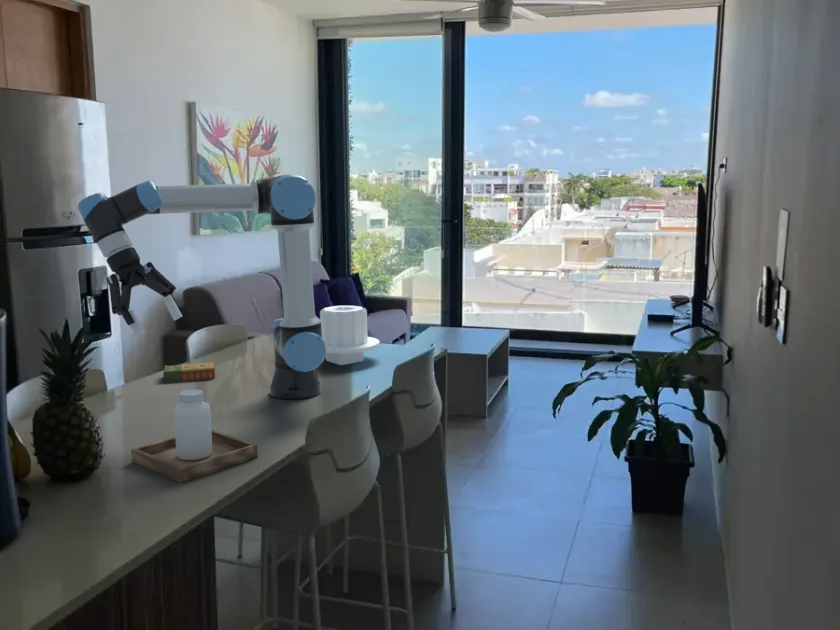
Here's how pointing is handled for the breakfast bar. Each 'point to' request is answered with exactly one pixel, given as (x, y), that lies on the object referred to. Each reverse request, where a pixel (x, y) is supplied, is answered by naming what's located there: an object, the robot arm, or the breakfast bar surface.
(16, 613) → the breakfast bar surface
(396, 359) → the breakfast bar surface
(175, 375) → the carton
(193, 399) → the pill bottle
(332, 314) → the flanged gear
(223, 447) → the tray
